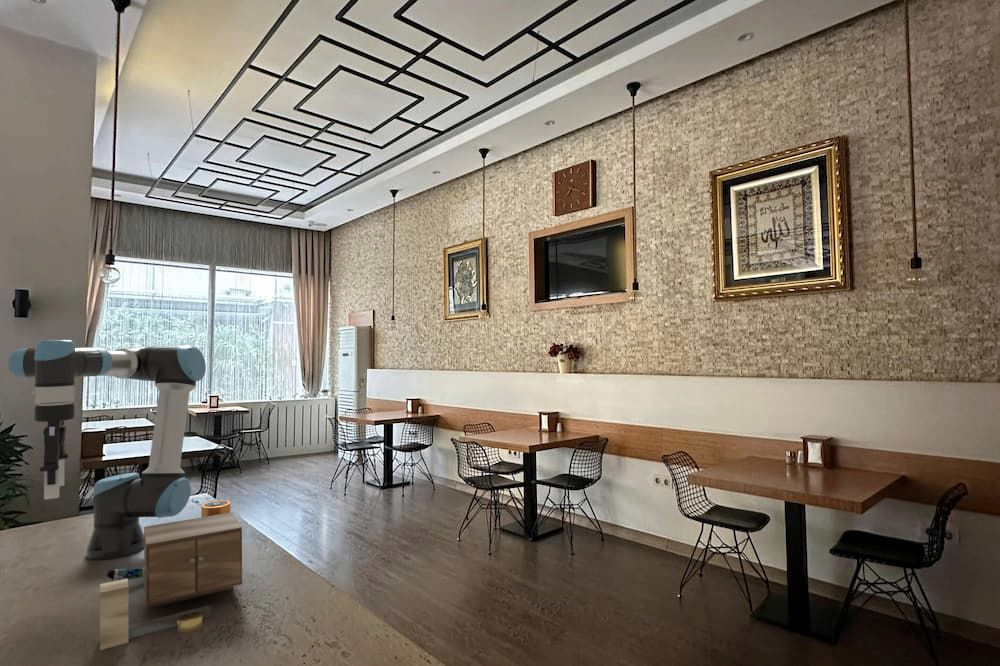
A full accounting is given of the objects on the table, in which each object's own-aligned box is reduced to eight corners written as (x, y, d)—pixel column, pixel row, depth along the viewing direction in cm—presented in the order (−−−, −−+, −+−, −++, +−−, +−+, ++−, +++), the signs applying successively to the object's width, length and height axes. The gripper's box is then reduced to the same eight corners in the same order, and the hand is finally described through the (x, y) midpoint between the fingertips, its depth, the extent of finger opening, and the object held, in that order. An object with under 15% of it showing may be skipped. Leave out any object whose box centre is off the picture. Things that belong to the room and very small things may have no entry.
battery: (225, 579, 151) (225, 505, 152) (197, 581, 150) (197, 507, 150) (234, 569, 158) (233, 498, 159) (207, 571, 157) (206, 499, 158)
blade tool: (100, 639, 121) (100, 584, 121) (208, 612, 133) (208, 561, 133) (99, 650, 117) (99, 592, 117) (211, 620, 129) (211, 568, 129)
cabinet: (144, 601, 139) (144, 526, 139) (232, 581, 150) (232, 512, 150) (146, 628, 125) (146, 546, 126) (243, 604, 137) (242, 528, 137)
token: (176, 627, 126) (176, 616, 126) (201, 620, 129) (201, 610, 129) (178, 636, 122) (178, 625, 122) (203, 629, 125) (203, 619, 125)
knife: (106, 588, 143) (108, 570, 144) (104, 585, 146) (106, 567, 146) (230, 567, 164) (232, 552, 165) (227, 564, 167) (228, 549, 167)
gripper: (41, 400, 143) (40, 483, 143) (27, 409, 122) (27, 507, 122) (77, 398, 147) (77, 479, 147) (70, 407, 126) (70, 501, 126)
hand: (54, 492), depth 134 cm, fingers open, 13 cm apart
